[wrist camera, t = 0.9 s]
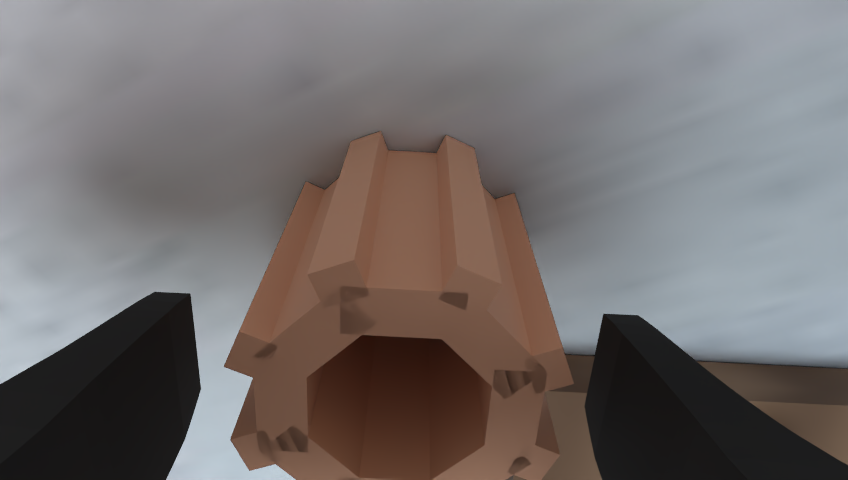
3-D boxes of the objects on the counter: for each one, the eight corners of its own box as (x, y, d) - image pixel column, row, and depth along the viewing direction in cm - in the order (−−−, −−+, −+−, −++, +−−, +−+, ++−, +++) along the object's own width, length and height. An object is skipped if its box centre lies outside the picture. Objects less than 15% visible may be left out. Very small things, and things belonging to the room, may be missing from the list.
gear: (533, 139, 15) (595, 272, 9) (506, 339, 17) (543, 538, 12) (292, 125, 15) (213, 252, 9) (298, 329, 17) (238, 525, 11)
